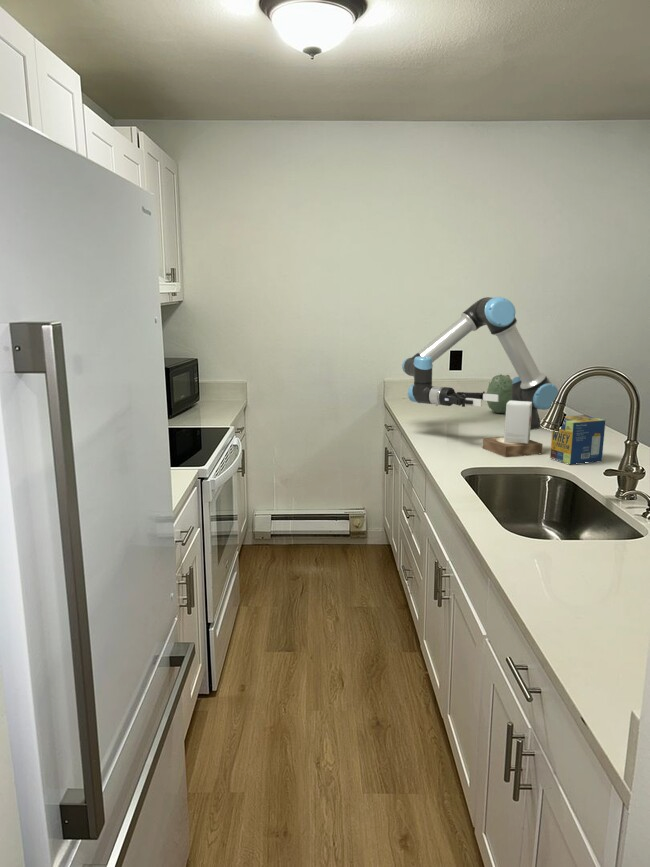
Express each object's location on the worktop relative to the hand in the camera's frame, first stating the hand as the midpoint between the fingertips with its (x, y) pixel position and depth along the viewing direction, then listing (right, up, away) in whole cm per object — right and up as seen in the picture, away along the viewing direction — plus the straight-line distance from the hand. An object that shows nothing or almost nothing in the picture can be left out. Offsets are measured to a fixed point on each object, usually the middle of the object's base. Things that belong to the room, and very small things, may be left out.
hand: (490, 400), depth 266 cm
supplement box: (+9, -16, -5) cm, 19 cm away
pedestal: (+8, -20, -2) cm, 21 cm away
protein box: (+27, -23, -17) cm, 39 cm away
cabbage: (+25, -3, +82) cm, 86 cm away
